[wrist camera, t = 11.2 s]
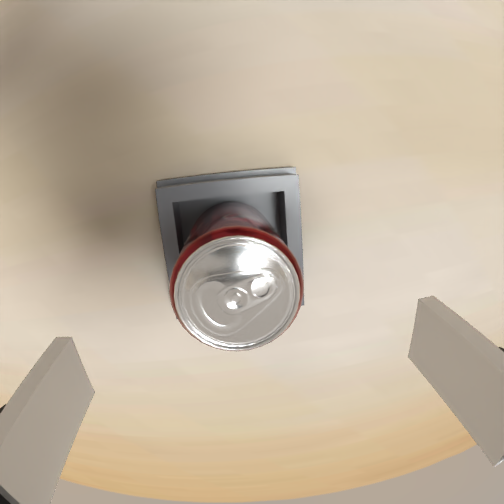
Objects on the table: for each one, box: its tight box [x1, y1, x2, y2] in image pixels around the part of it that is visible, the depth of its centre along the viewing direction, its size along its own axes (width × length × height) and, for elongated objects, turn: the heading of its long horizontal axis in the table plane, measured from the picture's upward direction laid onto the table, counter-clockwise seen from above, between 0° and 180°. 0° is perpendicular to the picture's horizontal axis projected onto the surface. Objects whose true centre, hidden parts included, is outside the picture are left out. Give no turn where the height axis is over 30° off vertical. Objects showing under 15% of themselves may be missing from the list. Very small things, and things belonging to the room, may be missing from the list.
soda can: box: [169, 201, 304, 351], centre depth 22 cm, size 7×7×12 cm
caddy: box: [155, 167, 304, 318], centre depth 26 cm, size 12×12×4 cm
